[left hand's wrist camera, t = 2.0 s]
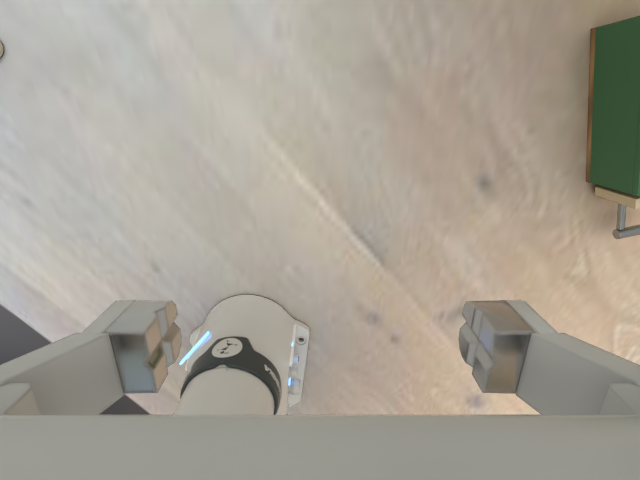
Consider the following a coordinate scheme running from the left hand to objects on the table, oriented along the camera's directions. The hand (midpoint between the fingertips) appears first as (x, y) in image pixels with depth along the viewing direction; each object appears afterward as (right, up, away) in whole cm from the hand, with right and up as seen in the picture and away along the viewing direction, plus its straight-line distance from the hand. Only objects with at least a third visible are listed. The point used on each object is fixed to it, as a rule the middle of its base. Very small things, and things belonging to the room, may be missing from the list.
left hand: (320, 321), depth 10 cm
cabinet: (+37, +19, +34) cm, 54 cm away
